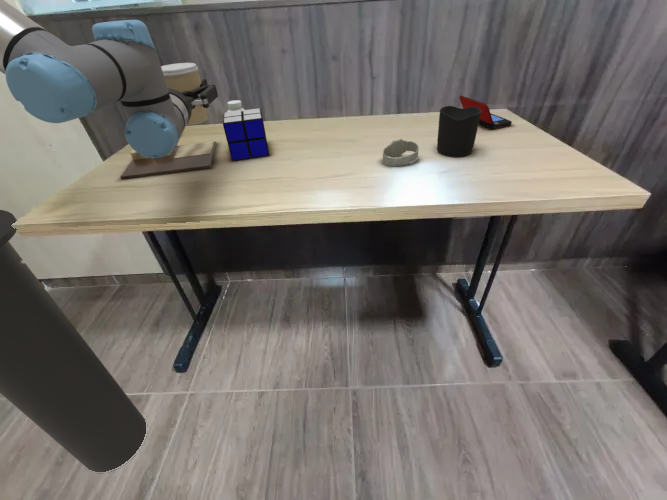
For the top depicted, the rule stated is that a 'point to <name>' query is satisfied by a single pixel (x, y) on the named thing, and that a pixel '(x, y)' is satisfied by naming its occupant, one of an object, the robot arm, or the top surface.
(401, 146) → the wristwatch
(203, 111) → the coffee cup
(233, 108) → the pill bottle
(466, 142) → the pen holder
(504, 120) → the handheld console
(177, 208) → the top surface
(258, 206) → the top surface
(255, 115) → the puzzle cube
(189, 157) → the letter board
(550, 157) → the top surface
